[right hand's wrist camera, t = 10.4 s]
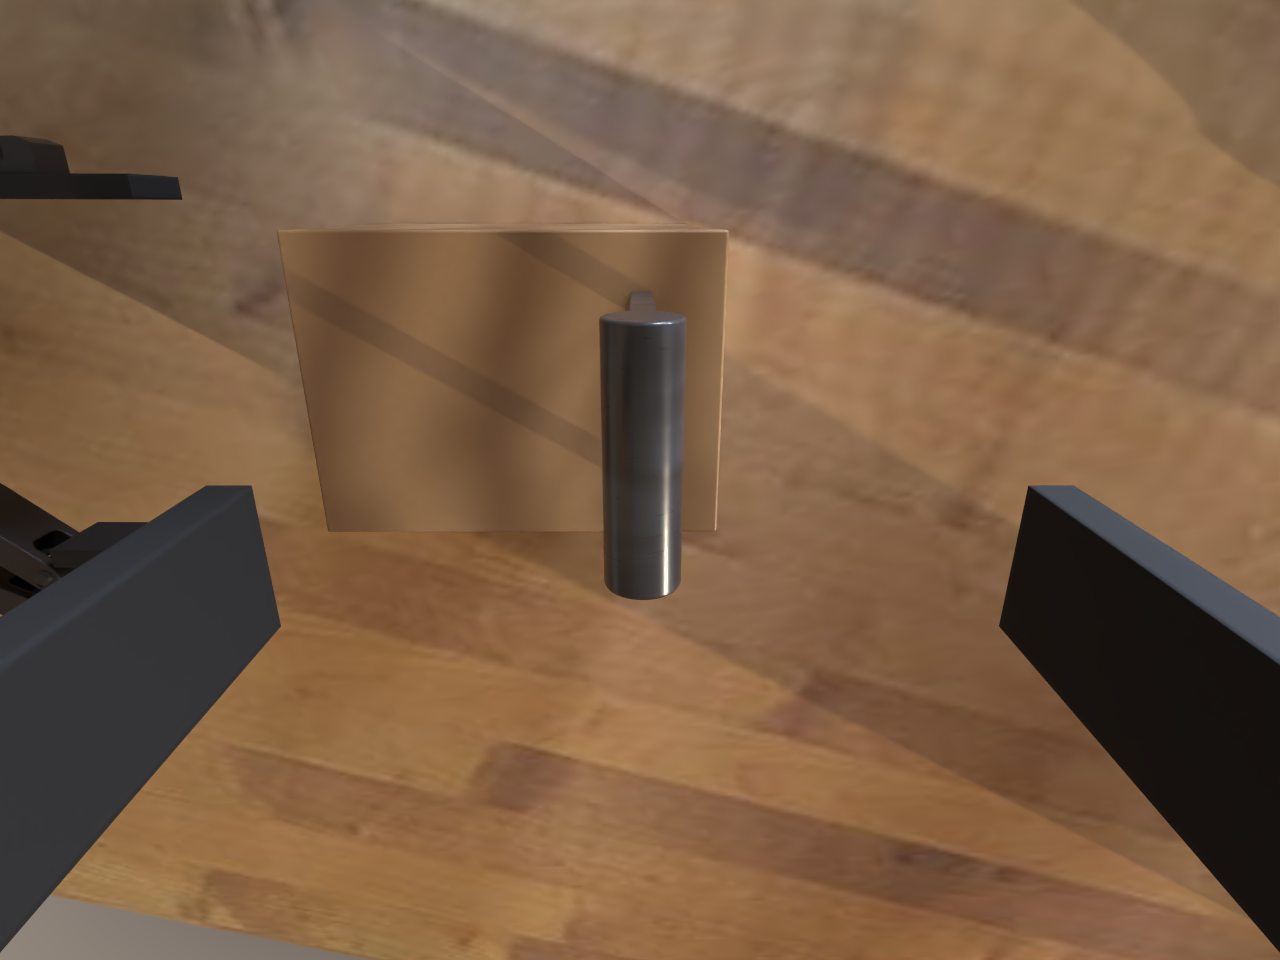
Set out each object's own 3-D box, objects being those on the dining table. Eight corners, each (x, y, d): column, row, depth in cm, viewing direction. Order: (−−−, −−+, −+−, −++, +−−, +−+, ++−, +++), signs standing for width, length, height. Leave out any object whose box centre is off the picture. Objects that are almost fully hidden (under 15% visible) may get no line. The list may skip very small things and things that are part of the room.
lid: (726, 229, 22) (772, 240, 15) (714, 522, 26) (746, 658, 18) (287, 229, 22) (99, 240, 15) (336, 523, 26) (206, 658, 18)
